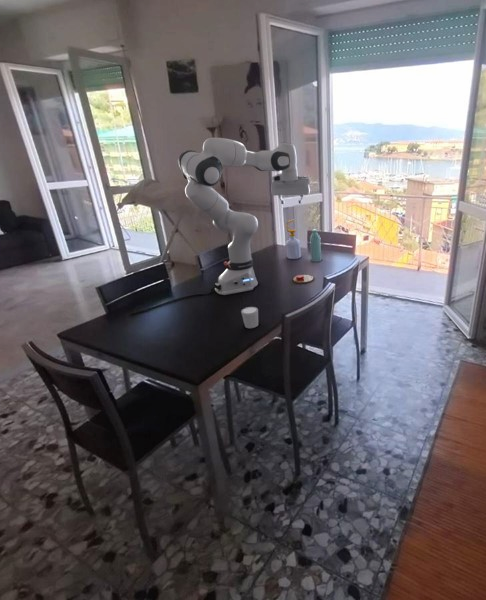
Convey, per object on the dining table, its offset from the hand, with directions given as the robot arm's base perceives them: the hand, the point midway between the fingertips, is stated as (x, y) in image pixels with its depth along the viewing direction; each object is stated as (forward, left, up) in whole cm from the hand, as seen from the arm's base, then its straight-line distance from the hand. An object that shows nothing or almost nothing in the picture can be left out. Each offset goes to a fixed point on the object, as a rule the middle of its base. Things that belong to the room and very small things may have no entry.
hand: (291, 203), depth 190 cm
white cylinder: (-46, -45, -39) cm, 75 cm away
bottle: (+20, +12, -39) cm, 46 cm away
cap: (-5, -13, -37) cm, 39 cm away
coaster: (-3, -13, -39) cm, 41 cm away
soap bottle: (+12, +26, -39) cm, 49 cm away
